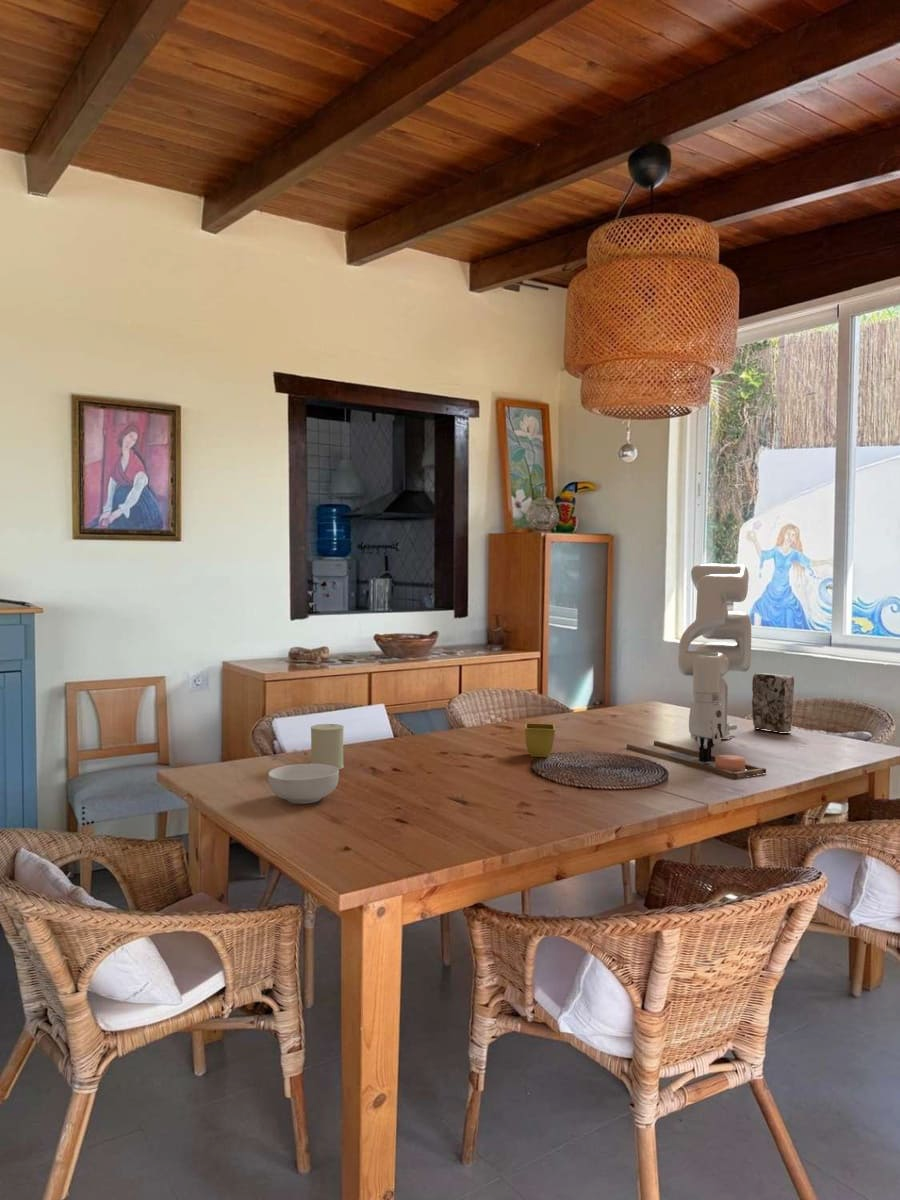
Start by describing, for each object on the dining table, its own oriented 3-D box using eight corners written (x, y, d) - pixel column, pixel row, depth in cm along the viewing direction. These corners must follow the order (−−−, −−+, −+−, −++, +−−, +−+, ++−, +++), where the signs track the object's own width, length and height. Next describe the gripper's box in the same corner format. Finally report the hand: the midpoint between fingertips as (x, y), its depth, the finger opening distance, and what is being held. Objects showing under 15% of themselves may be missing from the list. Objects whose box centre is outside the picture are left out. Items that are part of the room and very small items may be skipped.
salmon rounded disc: (726, 765, 252) (727, 753, 252) (751, 771, 246) (751, 758, 246) (709, 769, 248) (709, 757, 247) (733, 775, 241) (733, 762, 241)
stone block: (794, 733, 304) (795, 675, 303) (784, 735, 299) (785, 676, 299) (758, 727, 314) (759, 671, 313) (748, 730, 309) (749, 673, 308)
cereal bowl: (307, 787, 226) (307, 759, 226) (353, 798, 215) (353, 769, 215) (253, 800, 213) (253, 771, 212) (299, 813, 202) (299, 782, 202)
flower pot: (554, 753, 269) (554, 723, 269) (554, 759, 260) (555, 729, 260) (525, 752, 270) (525, 723, 269) (524, 758, 261) (524, 728, 261)
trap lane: (656, 745, 282) (656, 740, 282) (765, 774, 243) (766, 768, 243) (626, 748, 276) (626, 744, 276) (734, 779, 237) (734, 773, 237)
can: (350, 766, 250) (350, 723, 249) (332, 772, 241) (332, 729, 241) (322, 762, 254) (322, 721, 253) (304, 769, 245) (304, 726, 245)
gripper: (735, 700, 250) (734, 765, 250) (696, 693, 263) (695, 755, 263) (716, 702, 246) (715, 768, 247) (677, 695, 259) (676, 757, 260)
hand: (705, 761), depth 255 cm, fingers closed
